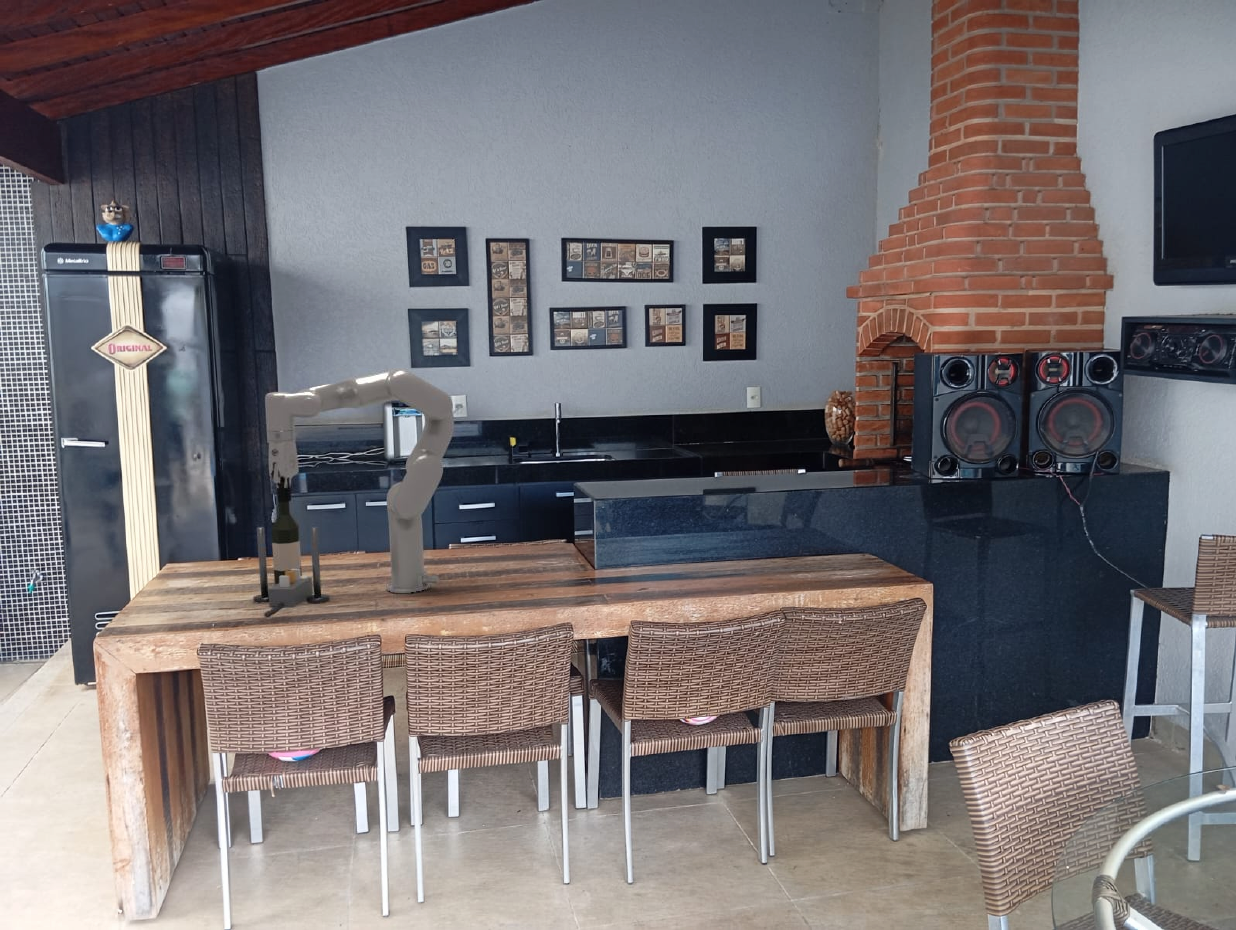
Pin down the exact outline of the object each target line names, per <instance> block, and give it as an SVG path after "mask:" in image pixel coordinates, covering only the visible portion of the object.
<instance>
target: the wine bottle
mask: <svg viewBox="0 0 1236 930" xmlns="http://www.w3.org/2000/svg"><path fill="white" fill-rule="evenodd" d="M276 491H277V490H276ZM276 493H277V494H276V495H277V497H278V491H277V492H276ZM290 508H291V507H290V501H289V502H279V501H278V500H277V510H278V512H277V513H278V515H277V516H276V519H275V521H274V523H273V525H272V527H271V545H272V546H271V547H272V557H273V558H272V563H273V574H274V575H273V577H274V584H276V583H279V576H285V572H286V571H291V569H300V574H301V576H303V575H302V572H303V571H302V559H301V558H302V555H301V542H300V541H301V537H300V526H299V524H298V523H297V521H296V520H295V518H294V517H293V515H292V514H291V511H290Z"/></svg>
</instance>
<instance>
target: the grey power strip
mask: <svg viewBox="0 0 1236 930" xmlns="http://www.w3.org/2000/svg"><path fill="white" fill-rule="evenodd" d="M291 571H295V582H294V583H290V581H289V576H279V583H278V584H276V583H275V585H273V586H271V587H270V588H269V587H268V594H269V602H268V603H269V606H270V609H269V610H267V611H266V612H264V614H263V615H264V617H265V618H266V617H269V616H270V615H272V614H274V613H275V612H277V611H278V610H280V609H281V608H283V607H284V608H287V607H289V608H294V607H296V606H298V605H299V604H301V603H302V602H303V601H305V600H306V599H305V598H306V597H308V596H311V595H314V590H313V576H308V575H307V576H305V575H302V576H301V574H300V569H291ZM304 599H305V600H304ZM295 605H296V606H295ZM269 606H268V607H269ZM272 606H275V607H272ZM271 607H272V608H271Z"/></svg>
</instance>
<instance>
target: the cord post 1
mask: <svg viewBox="0 0 1236 930" xmlns="http://www.w3.org/2000/svg"><path fill="white" fill-rule="evenodd" d="M265 535H266V534H265V527H264V526H258V527H256V536H257V539H256V540H257V552H258V553H257V554H258V565H259V580H260V584H259V585H260V594H257V595H254V596H253V598H252V599H253V600H252V601H254V603H255V602H268V603H269V591H268V589H269V583H268V567H267V550H266V536H265Z"/></svg>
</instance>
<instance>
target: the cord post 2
mask: <svg viewBox="0 0 1236 930" xmlns="http://www.w3.org/2000/svg"><path fill="white" fill-rule="evenodd" d="M309 530H310V531H309V533H310V546H311V549H310V550H311V563H312V564H311V566H312V586H313V594H312V595H310V596H308V597H306V599H305V602H306V603H307V602H308V604H321V603H320V602H323V603H326V602H329V601H330V599H331V598H330V595H329V594H326V593H322V583H321V582H322V581H321V566H320V565H321V564H320V549H319V545H320V544H319V532H318V531H319V528H318V526H316V527H315V526H314V527H309Z"/></svg>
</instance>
